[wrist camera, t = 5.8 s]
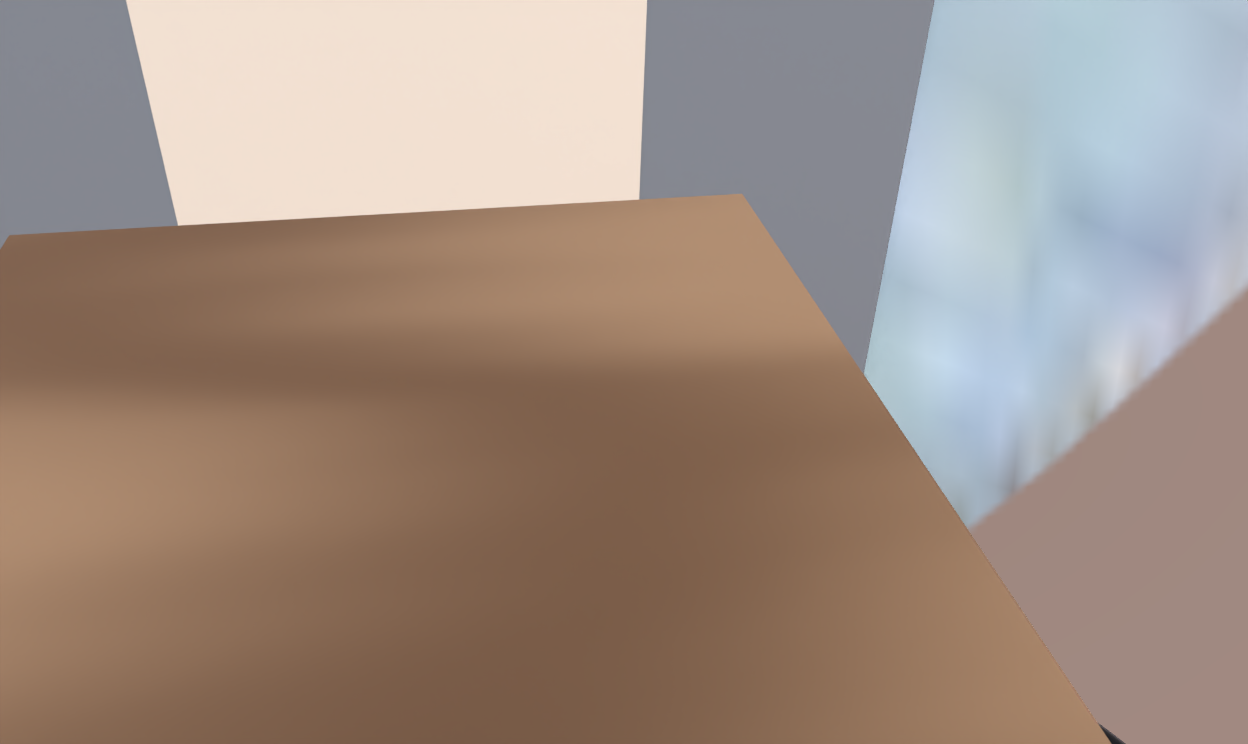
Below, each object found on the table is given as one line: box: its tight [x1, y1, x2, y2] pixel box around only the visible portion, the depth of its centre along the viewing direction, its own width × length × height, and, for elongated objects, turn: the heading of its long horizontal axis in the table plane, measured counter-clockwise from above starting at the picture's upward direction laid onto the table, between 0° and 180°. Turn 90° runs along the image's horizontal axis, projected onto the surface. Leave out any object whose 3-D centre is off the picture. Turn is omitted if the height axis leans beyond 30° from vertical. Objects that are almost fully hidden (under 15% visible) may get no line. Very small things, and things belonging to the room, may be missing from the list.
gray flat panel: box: [0, 0, 934, 374], centre depth 15 cm, size 20×14×1 cm
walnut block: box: [0, 194, 1111, 744], centre depth 7 cm, size 5×5×5 cm
